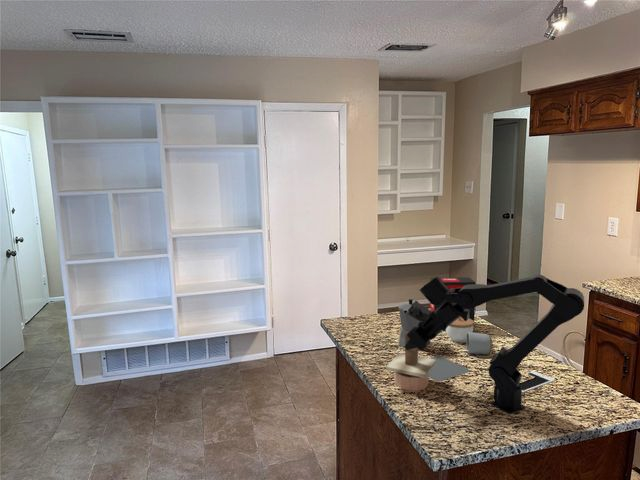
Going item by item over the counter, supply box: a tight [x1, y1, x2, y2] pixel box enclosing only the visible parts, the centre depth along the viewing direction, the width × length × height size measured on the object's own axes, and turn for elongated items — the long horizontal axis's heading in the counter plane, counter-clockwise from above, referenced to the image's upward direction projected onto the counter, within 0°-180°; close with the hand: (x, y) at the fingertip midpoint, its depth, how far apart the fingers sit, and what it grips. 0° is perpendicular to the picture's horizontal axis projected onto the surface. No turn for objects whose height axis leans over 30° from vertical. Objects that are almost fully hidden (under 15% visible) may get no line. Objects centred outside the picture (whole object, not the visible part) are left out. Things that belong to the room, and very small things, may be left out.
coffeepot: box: [398, 298, 421, 348], centre depth 170 cm, size 15×9×18 cm, turn 150°
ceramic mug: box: [465, 331, 493, 356], centre depth 162 cm, size 11×8×8 cm
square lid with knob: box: [385, 331, 436, 378], centre depth 137 cm, size 12×12×10 cm
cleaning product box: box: [429, 276, 476, 330], centre depth 191 cm, size 16×9×20 cm, turn 88°
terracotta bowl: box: [393, 371, 429, 392], centre depth 138 cm, size 10×10×4 cm
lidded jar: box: [445, 317, 475, 344], centre depth 175 cm, size 11×11×9 cm
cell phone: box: [519, 370, 556, 394], centre depth 139 cm, size 8×16×1 cm, turn 119°
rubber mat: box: [428, 355, 472, 382], centre depth 149 cm, size 15×15×1 cm
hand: (407, 346), depth 137 cm, fingers closed on square lid with knob, 3 cm apart
